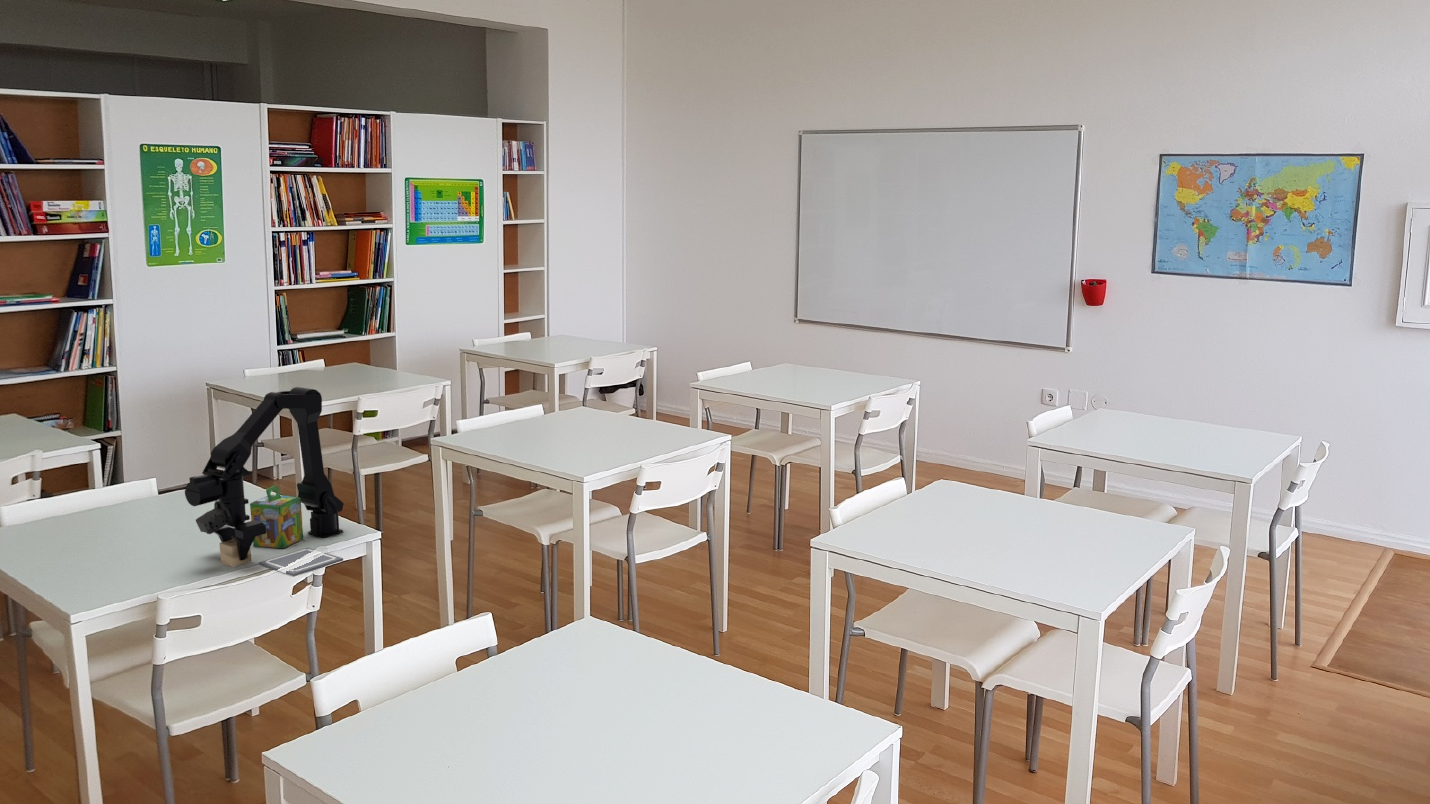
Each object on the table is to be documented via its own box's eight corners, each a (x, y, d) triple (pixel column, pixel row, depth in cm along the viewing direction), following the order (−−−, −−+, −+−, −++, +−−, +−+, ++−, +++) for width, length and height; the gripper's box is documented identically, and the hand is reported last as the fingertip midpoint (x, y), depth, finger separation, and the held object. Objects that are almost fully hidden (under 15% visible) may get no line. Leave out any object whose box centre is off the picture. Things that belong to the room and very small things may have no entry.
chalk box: (283, 549, 280) (279, 493, 277) (251, 546, 282) (247, 490, 280) (305, 538, 289) (301, 484, 286) (274, 535, 291) (270, 481, 288)
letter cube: (239, 557, 274) (238, 537, 273) (251, 561, 271) (250, 541, 270) (221, 562, 270) (219, 542, 269) (233, 566, 267) (231, 546, 266)
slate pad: (308, 549, 280) (308, 547, 280) (343, 560, 272) (343, 557, 272) (258, 564, 269) (258, 561, 269) (293, 576, 261) (293, 573, 261)
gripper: (178, 497, 266) (183, 559, 269) (222, 510, 256) (227, 574, 259) (221, 487, 275) (226, 547, 278) (265, 499, 265) (270, 562, 268)
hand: (236, 557), depth 271 cm, fingers closed on letter cube, 5 cm apart
